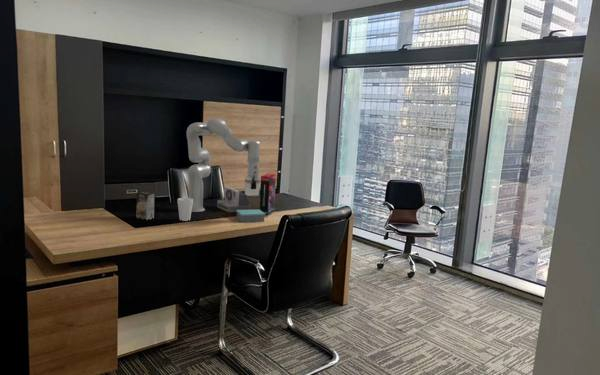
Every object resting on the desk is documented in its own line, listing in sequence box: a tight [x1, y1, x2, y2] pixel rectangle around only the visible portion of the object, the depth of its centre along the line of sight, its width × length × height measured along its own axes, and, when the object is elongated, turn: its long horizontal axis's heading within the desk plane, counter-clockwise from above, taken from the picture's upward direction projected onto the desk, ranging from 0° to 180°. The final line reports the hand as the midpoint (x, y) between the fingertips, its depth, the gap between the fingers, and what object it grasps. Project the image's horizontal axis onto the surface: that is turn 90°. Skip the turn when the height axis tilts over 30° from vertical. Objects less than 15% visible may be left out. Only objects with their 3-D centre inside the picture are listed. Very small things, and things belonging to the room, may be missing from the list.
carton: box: [244, 175, 261, 197], centre depth 282 cm, size 6×8×12 cm
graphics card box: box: [259, 172, 277, 216], centre depth 305 cm, size 17×7×27 cm, turn 168°
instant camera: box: [216, 186, 251, 213], centre depth 313 cm, size 21×21×15 cm
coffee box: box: [135, 190, 155, 221], centre depth 270 cm, size 9×6×16 cm
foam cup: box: [176, 197, 193, 222], centre depth 273 cm, size 10×9×13 cm
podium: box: [235, 209, 266, 223], centre depth 285 cm, size 16×13×5 cm
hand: (252, 187), depth 282 cm, fingers closed on carton, 5 cm apart
